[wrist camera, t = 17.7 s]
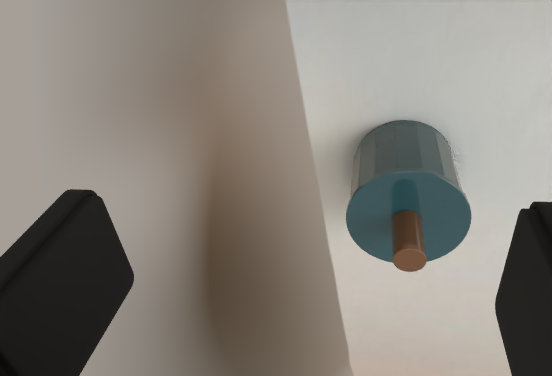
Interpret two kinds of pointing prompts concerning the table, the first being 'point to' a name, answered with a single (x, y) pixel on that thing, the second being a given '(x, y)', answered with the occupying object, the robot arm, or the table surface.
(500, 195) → the table surface
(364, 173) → the pot
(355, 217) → the lid
